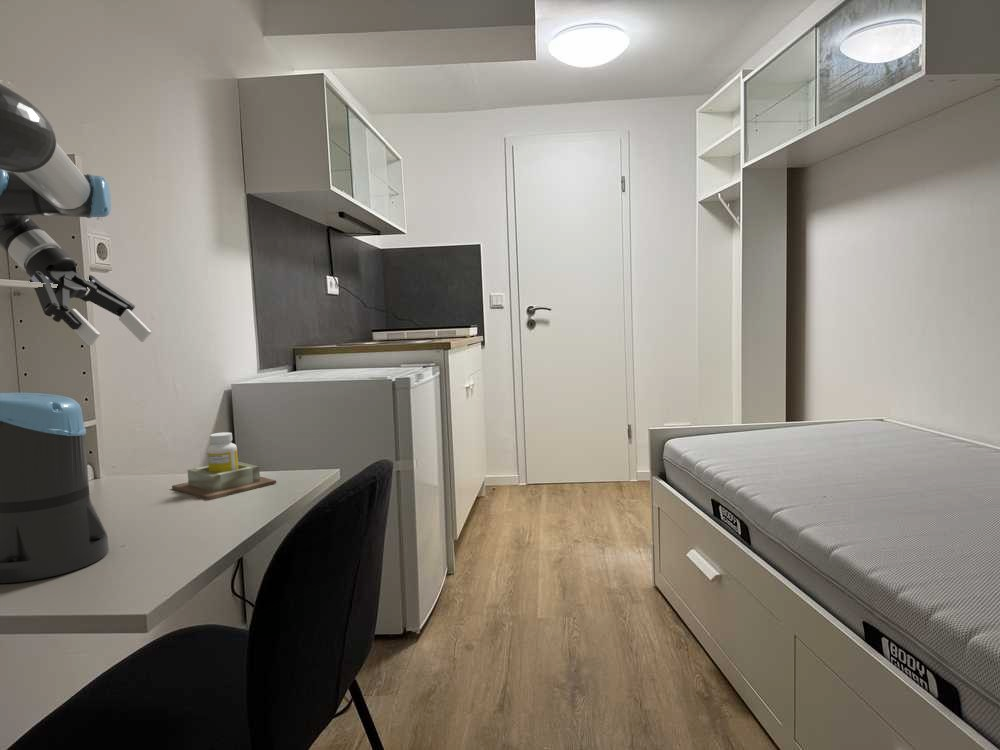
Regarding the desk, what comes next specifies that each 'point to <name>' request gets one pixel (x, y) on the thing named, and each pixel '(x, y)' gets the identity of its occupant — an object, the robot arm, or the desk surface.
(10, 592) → the desk surface
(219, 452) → the supplement bottle
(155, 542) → the desk surface
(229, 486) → the socket board
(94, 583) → the desk surface
